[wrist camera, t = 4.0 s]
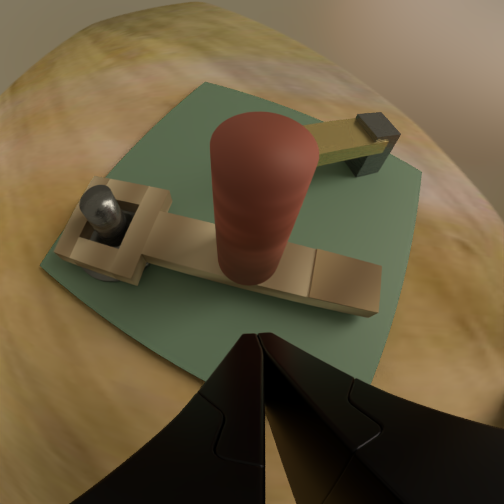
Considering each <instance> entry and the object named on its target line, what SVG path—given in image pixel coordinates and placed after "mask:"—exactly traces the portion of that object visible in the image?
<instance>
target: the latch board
mask: <svg viewBox="0 0 504 504" xmlns="http://www.w3.org/2000/svg"><path fill="white" fill-rule="evenodd" d="M247 112H271V113H276V114H280V115H283V116H286V117H289V118H291V119H293V120H295V121H297V122H298V123H300V124H301V125H308V124H315V123H322V122H323V121H321V120H318V119H316V118H313V117H311V116H308V115H306V114H303V113H301V112H298V111H296V110H293V109H290V108H288V107H285V106H282V105H279V104H277V103H274V102H271V101H268V100H265V99H262V98H259V97H256V96H253V95H250V94H247V93H243V92H240V91H237V90H233V89H230V88H226V87H223V86H219V85H215V84H212V83H208V82H204V83H203V84H202V85H201V86H199V87H198V88H197V89H196V90H194V91H193V92H192V93H191V94H190V95H188V96H187V97H186V98H185V99H184V100H183V101H181V102H180V103H179V104H178V105H177V106H176V107H175V108H173V109H172V110H171V111H170V112H169V113H168V114H167V115H166V116H165V117H164V118H162V119H161V120H160V121H159V122H158V123H157V124H156V125H155V126H154V127H153V128H152V129H151V130H150V131H149V132H148V133H147V134H146V135H145V136H144V137H143V138H142V139H141V140H140V141H139V142H138V143H137V144H136V145H135V146H134V147H133V148H132V149H131V150H130V151H129V152H128V153H127V154H126V155H125V156H124V157H123V158H122V159H121V161H120V162H119V163H118V164H117V165H116V166H115V167H114V168H113V169H112V170H111V172H110V173H109V174H108V175H107V176H106V177H105V178H109V179H114V180H120V181H125V182H130V183H135V184H140V185H145V186H150V187H155V188H160V189H165V190H169V191H170V194H171V198H172V204H171V206H170V208H169V210H168V213H171V214H176V215H180V216H184V217H188V218H193V219H197V220H201V221H205V222H209V223H213V224H215V219H214V206H213V192H212V176H211V160H210V140H211V137H212V134H213V132H214V131H215V129H216V128H217V127H218V126H219V125H220V124H221V123H222V122H224V121H225V120H227V119H229V118H231V117H233V116H235V115H238V114H242V113H247ZM421 175H422V172H421V171H419V170H418V169H416V168H414V167H413V166H411V165H409V164H407V163H406V162H404V161H402V160H400V159H399V158H397V157H395V156H393V155H391V154H389V155H388V157H387V159H386V160H385V162H384V164H383V165H382V167H381V168H380V170H379V172H377V173H373V174H369V175H365V176H361V177H357V178H356V177H355V176H354V174H353V173H352V171H351V170H350V169H349V167H348V166H347V164H346V163H345V162H344V161H340V162H335V163H331V164H327V165H322V166H318V167H316V169H315V172H314V175H313V177H312V180H311V183H310V185H309V188H308V191H307V193H306V196H305V198H304V201H303V204H302V206H301V209H300V211H299V214H298V217H297V219H296V222H295V224H294V227H293V229H292V232H291V234H290V237H289V239H288V242H290V243H294V244H298V245H302V246H306V247H309V248H313V249H321V250H324V251H328V252H332V253H336V254H340V255H343V256H347V257H351V258H355V259H358V260H362V261H366V262H370V263H373V264H377V265H381V266H382V275H381V290H380V302H379V313H377V314H375V315H373V316H371V317H369V318H366V317H361V316H356V315H352V314H347V313H343V312H338V311H334V310H329V309H325V308H320V307H316V306H312V305H307V304H303V303H299V302H295V301H290V300H286V299H282V298H278V297H274V296H270V295H266V294H262V293H258V292H254V291H250V290H246V289H242V288H238V287H234V286H230V285H227V284H223V283H219V282H215V281H211V280H208V279H204V278H200V277H197V276H193V275H189V274H186V273H182V272H179V271H175V270H172V269H168V268H165V267H161V266H158V265H154V264H150V265H149V266H148V267H147V268H146V269H145V270H144V271H143V273H142V276H141V278H140V281H139V284H138V286H135V285H132V284H129V283H126V282H123V281H121V282H103V281H99V280H97V279H95V278H93V277H91V276H90V275H89V274H87V273H86V272H85V271H84V270H83V269H82V268H81V267H80V266H78V265H75V264H72V263H70V262H67V261H64V260H62V259H61V258H60V257H59V256H58V255H57V254H55V253H54V250H55V248H56V245H57V243H58V241H59V239H60V237H61V235H62V233H63V232H62V233H61V234H60V236H59V237H58V239H57V240H56V242H55V243H54V245H53V246H52V247H51V249H50V250H49V252H48V253H47V255H46V256H45V258H44V260H43V261H42V263H41V264H40V266H41V267H42V268H43V269H44V270H45V271H47V272H48V273H49V274H50V275H51V276H52V277H53V278H55V279H56V280H57V281H58V282H59V283H60V284H62V285H63V286H64V287H65V288H66V289H68V290H69V291H70V292H71V293H73V294H74V295H75V296H76V297H78V298H79V299H80V300H81V301H83V302H84V303H85V304H86V305H88V306H89V307H90V308H92V309H93V310H94V311H96V312H97V313H98V314H100V315H101V316H102V317H104V318H105V319H107V320H108V321H109V322H111V323H112V324H114V325H115V326H116V327H118V328H119V329H121V330H122V331H124V332H125V333H126V334H128V335H129V336H131V337H132V338H134V339H135V340H137V341H138V342H140V343H141V344H143V345H145V346H146V347H148V348H149V349H151V350H152V351H154V352H156V353H157V354H159V355H160V356H162V357H164V358H165V359H167V360H169V361H170V362H172V363H174V364H175V365H177V366H179V367H181V368H182V369H184V370H186V371H187V372H189V373H191V374H193V375H195V376H196V377H198V378H200V379H202V380H204V381H207V379H208V378H209V377H210V376H211V374H212V373H213V372H214V370H215V369H216V368H217V367H218V365H219V364H220V363H221V361H222V360H223V359H224V357H225V356H226V355H227V353H228V352H229V351H230V350H231V348H232V347H233V346H234V344H235V343H236V342H237V340H238V339H239V338H240V336H241V335H242V334H247V333H256V334H258V333H264V332H272V333H274V334H275V335H277V336H279V337H281V338H282V339H284V340H286V341H288V342H289V343H291V344H293V345H295V346H297V347H298V348H300V349H302V350H304V351H306V352H307V353H309V354H311V355H313V356H315V357H317V358H318V359H320V360H322V361H324V362H326V363H328V364H330V365H332V366H333V367H335V368H337V369H339V370H341V371H343V372H345V373H347V374H349V375H351V376H353V377H354V379H355V378H358V379H360V380H362V381H364V382H366V383H368V384H371V382H372V379H373V377H374V374H375V371H376V369H377V366H378V363H379V361H380V358H381V355H382V352H383V349H384V346H385V343H386V340H387V337H388V334H389V331H390V328H391V325H392V321H393V318H394V314H395V311H396V307H397V304H398V300H399V296H400V293H401V289H402V285H403V281H404V276H405V272H406V268H407V263H408V259H409V254H410V249H411V244H412V239H413V233H414V227H415V221H416V215H417V208H418V201H419V193H420V185H421ZM63 231H64V230H63Z"/></svg>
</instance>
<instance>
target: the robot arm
mask: <svg viewBox="0 0 504 504" xmlns="http://www.w3.org/2000/svg"><path fill="white" fill-rule="evenodd" d="M265 412H266V415H267V418H268V421H269V424H270V427H271V431H272V434H273V437H274V440H275V443H276V446H277V449H278V452H279V455H280V458H281V461H282V464H283V467H284V470H285V473H286V475H287V478H288V481H289V484H290V487H291V490H292V493H293V496H294V498H295V501H296V504H504V429H502V428H497V427H494V426H490V425H486V424H482V423H478V422H475V421H471V420H468V419H464V418H461V417H457V416H454V415H451V414H448V413H444V412H441V411H438V410H435V409H432V408H429V407H426V406H423V405H420V404H417V403H414V402H411V401H408V400H406V399H403V398H400V397H398V396H395V395H393V394H390V393H388V392H385V391H383V390H381V389H378V388H376V387H374V386H372V385H370V384H368V383H366V382H364V381H362V380H360V379H358V378H355V379H354V377H353V376H351V375H349V374H347V373H345V372H343V371H341V370H339V369H337V368H335V367H333V366H332V365H330V364H328V363H326V362H324V361H322V360H320V359H318V358H317V357H315V356H313V355H311V354H309V353H307V352H306V351H304V350H302V349H300V348H298V347H297V346H295V345H293V344H291V343H289V342H288V341H286V340H284V339H282V338H281V337H279V336H277V335H275V334H274V333H272V332H264V333H258V334H256V333H247V334H242V335H241V336H240V338H239V339H238V340H237V342H236V343H235V344H234V346H233V347H232V348H231V350H230V351H229V352H228V353H227V355H226V356H225V357H224V359H223V360H222V361H221V363H220V364H219V365H218V367H217V368H216V369H215V370H214V372H213V373H212V374H211V376H210V377H209V378H208V379H207V381H206V382H205V383H204V385H203V386H202V387H201V388H200V390H199V391H198V392H197V393H196V394H195V395H194V396H193V398H192V399H191V400H190V401H189V403H188V404H187V405H186V406H185V407H184V408H183V409H182V411H181V412H180V413H179V414H178V415H177V416H176V417H175V418H174V419H173V420H172V421H171V422H170V423H169V424H168V425H167V426H166V427H165V428H163V429H162V430H161V431H160V432H159V433H158V434H157V435H156V436H154V437H153V438H152V439H151V440H150V441H149V442H147V443H146V444H145V445H144V446H143V447H142V448H140V449H139V450H138V451H137V452H136V453H134V454H133V455H132V456H131V457H130V458H128V459H127V460H126V461H125V462H123V463H122V464H121V465H120V466H118V467H117V468H116V469H115V470H113V471H112V472H111V473H110V474H108V475H107V476H106V477H105V478H103V479H102V480H101V481H99V482H98V483H97V484H95V485H94V486H93V487H91V488H90V489H89V490H87V491H86V492H85V493H83V494H82V495H81V496H79V497H78V498H76V499H75V500H74V501H72V502H71V503H69V504H265Z"/></svg>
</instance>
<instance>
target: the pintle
mask: <svg viewBox="0 0 504 504" xmlns="http://www.w3.org/2000/svg"><path fill="white" fill-rule="evenodd" d="M79 207H80V210H81V212H82V213H83V215H84V216H85V217H86V219H87V220H88V222H89V223H90V224H91V226H92V227H93V228H94V232H93V234H92V236H91V238H90V240H91V241H94V242H97V243H101V244H104V245H107V246H110V247H114V248H117V249H119V248H120V246H121V243H122V241H123V239H124V237H125V234H126V232H127V230H128V228H129V226H130V224H131V222H132V219H133V217H134V215H135V213H133V212H129V211H124V210H121V208H120V206H119V204H118V203H117V201H116V199H115V197H114V195H113V193H112V191H111V189H110V188H109V187H108V186H106V185H96V186H93V187H91V188H89V189H88V190H87V191H86V192H85V193H84V194H83V196H82V197H81V199H80V203H79ZM150 264H151V263H146V265H145V268H144V270H145V269H146V268H147V267H148V266H149V265H150ZM81 268H82V269H83V270H84V271H85V272H86V273H87V274H89V275H90V276H91V277H93V278H95V279H97V280H99V281H103V282H121V281H120V280H117V279H114V278H112V277H109V276H106V275H103V274H100V273H97V272H94V271H92V270H89V269H86V268H83V267H81ZM144 270H143V271H144Z"/></svg>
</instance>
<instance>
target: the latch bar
mask: <svg viewBox="0 0 504 504" xmlns="http://www.w3.org/2000/svg"><path fill="white" fill-rule="evenodd" d="M210 160H211V176H212V192H213V206H214V219H215V224H213V223H209V222H205V221H201V220H197V219H193V218H188V217H184V216H180V215H176V214H171V213H168V210H169V208H170V206H171V204H172V198H171V194H170V191H169V190H165V189H160V188H155V187H150V186H145V185H140V184H135V183H130V182H125V181H120V180H114V179H109V178H103V177H98V176H94V177H93V179H92V180H91V182H90V184H89V185H88V187H87V189H86V190H85V192H86V191H87V190H88V189H89V188H91V187H93V186H96V185H106V186H108V187H109V188H110V189H111V191H112V193H113V195H114V197H115V199H116V201H117V203H118V204H119V206H120V208H121V210H124V211H129V212H133V213H135V215H134V217H133V219H132V222H131V224H130V226H129V228H128V230H127V232H126V234H125V237H124V239H123V241H122V243H121V246H120V248H119V249H117V248H114V247H110V246H107V245H104V244H101V243H97V242H94V241H91V240H90V238H91V236H92V234H93V232H94V228H93V227H92V226H91V224H90V223H89V222H88V220H87V219H86V217H85V216H84V215H83V213H82V212H81V210H80V207H79V203H80V201H79V203H78V204H77V206H76V208H75V210H74V212H73V214H72V215H71V217H70V219H69V221H68V223H67V225H66V227H65V229H64V231H63V233H62V235H61V237H60V239H59V241H58V243H57V245H56V248H55V250H54V253H55V254H57V255H58V256H59V257H60V258H61V259H62V260H64V261H67V262H70V263H72V264H75V265H78V266H80V267H83V268H86V269H89V270H92V271H94V272H97V273H100V274H103V275H106V276H109V277H112V278H114V279H117V280H120V281H123V282H126V283H129V284H132V285H135V286H138V284H139V281H140V278H141V276H142V273H143V270H144V268H145V265H146V263H151V264H154V265H158V266H161V267H165V268H168V269H172V270H175V271H179V272H182V273H186V274H189V275H193V276H197V277H200V278H204V279H208V280H211V281H215V282H219V283H223V284H227V285H230V286H234V287H238V288H242V289H246V290H250V291H254V292H258V293H262V294H266V295H270V296H274V297H278V298H282V299H286V300H290V301H295V302H299V303H303V304H307V305H312V306H316V307H320V308H325V309H329V310H334V311H338V312H343V313H347V314H352V315H356V316H361V317H366V318H369V317H371V316H373V315H375V314H377V313H379V302H380V290H381V275H382V266H381V265H377V264H373V263H370V262H366V261H362V260H358V259H355V258H351V257H347V256H343V255H340V254H336V253H332V252H328V251H324V250H321V249H313V248H309V247H306V246H302V245H298V244H294V243H290V242H288V239H289V237H290V234H291V232H292V229H293V227H294V224H295V222H296V219H297V217H298V214H299V211H300V209H301V206H302V204H303V201H304V198H305V196H306V193H307V191H308V188H309V185H310V183H311V180H312V177H313V175H314V172H315V169H316V167H317V164H318V161H319V148H318V145H317V142H316V140H315V138H314V137H313V135H312V134H311V133H310V132H309V131H308V130H307V129H306V128H305V127H304V126H303V125H301V124H300V123H298V122H297V121H295V120H293V119H291V118H289V117H286V116H283V115H280V114H276V113H271V112H247V113H242V114H238V115H235V116H233V117H231V118H229V119H227V120H225V121H224V122H222V123H221V124H220V125H219V126H218V127H217V128H216V129H215V131H214V132H213V134H212V137H211V140H210ZM85 192H84V193H85ZM82 196H83V195H82Z"/></svg>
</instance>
